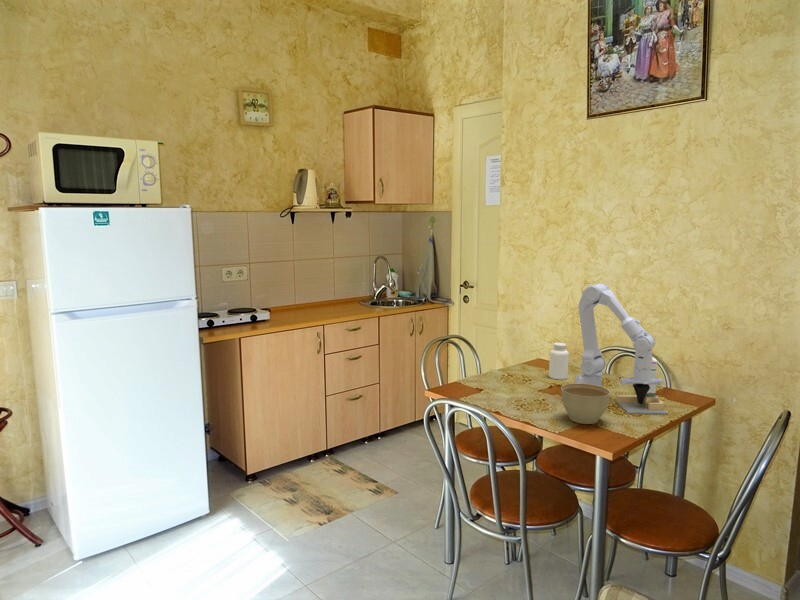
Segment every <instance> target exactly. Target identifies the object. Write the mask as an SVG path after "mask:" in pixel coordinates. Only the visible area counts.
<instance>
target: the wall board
mask: <svg viewBox="0 0 800 600" xmlns="http://www.w3.org/2000/svg"><path fill="white" fill-rule="evenodd" d="M616 404H617V405H618V406H619V407H620V408H622V409H623V410H624V411H625V412H626V413H627V414H628V415H669V412H668V411H667V410H666V409H665V402H664V401H663V400H661V399H660V400H659V403H648V409H646V408H645V407H644V406H642V405H641V404H639V403H638V400H637V395H636V394H635V395H634V394H616Z"/></svg>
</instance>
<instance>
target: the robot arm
mask: <svg viewBox="0 0 800 600" xmlns="http://www.w3.org/2000/svg"><path fill="white" fill-rule="evenodd" d="M581 293H582V294H581V297H580V300H579V302H578V315H579V322H580V329H581V337H582V345H583V352H582V355H581V363H580V370H581V372H582V373H577V374H576V375H575V376H576V377H575V383H583V384H592V385H598V386H601V387H603V385H602V384H603V370H604V369H605V368H606V364H607V363H606V361H605V360H606V359H604V356H603V352H602V351H601V350H600V348H599V343H598V335H597V327H596V320H595V313H594V312H595V311H594V309H595V308H596V307H597V305H603V306H607V307H608V309H610V310H611V312H613V314H614V315H615V316H616V317H617V319H618V320H619V321H620V322H621V329H622V330H623V331H624V333H625V334H626V335H627V337H628V338H629V339H630V340H631V341H632V342H633V343H632V346H633V348H634V350H635V353H634V366H633V376H632V377H624V378H623V377H621V378H620V384H621V385H622V386H624V385H632V386H633V389H634V392H635V395H637V400H638V403H639V404H642V402H643V399H644V397H645V395H646V393H647V392H648V391H649V389H650V386H649V385H656V386H663V381H664V380H663V379H661V378H656V379H655V378H650V377H651V364H652V357H653V348H654V347H655V345H656V340H655V337H654V335H652V334H650V333H649V332H648V330H645V328H643V326H642V325H641V324H640V323H641V321H640V319H636V318H635V317H631V316H630V315H629V313H628V312H627V311H626V310H625V308H624V307H623V306H622V304H621V303H620V301H619V300H618V298H617V297H616V296H615V294H614V292H613V290H612V289H610V288H609V286H608V285H607V284H606V283H597V284H589V285H588V286H587V287H585V288H584V289H583V290H582V292H581Z"/></svg>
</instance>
